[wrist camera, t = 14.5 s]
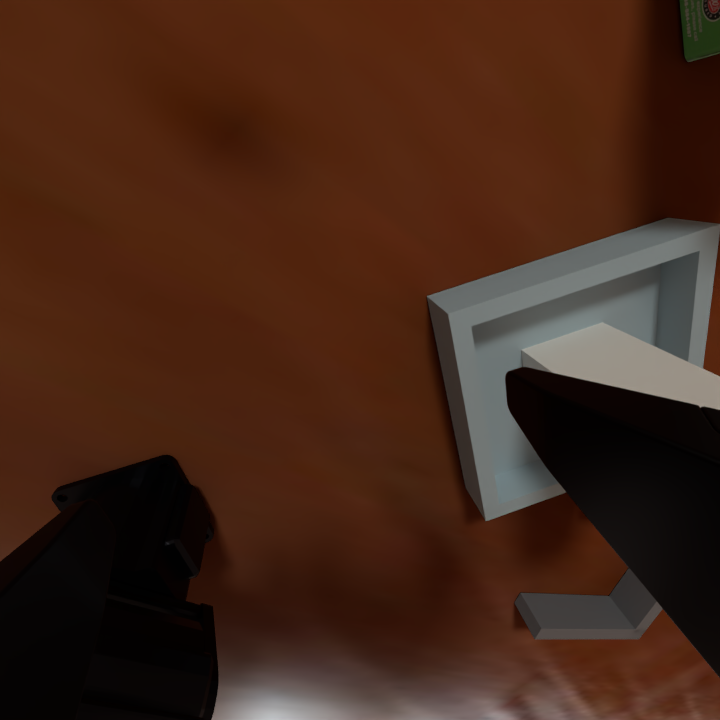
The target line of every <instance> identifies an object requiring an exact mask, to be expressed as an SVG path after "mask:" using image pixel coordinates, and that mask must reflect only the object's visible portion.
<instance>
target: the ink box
mask: <svg viewBox="0 0 720 720" xmlns="http://www.w3.org/2000/svg"><path fill="white" fill-rule="evenodd" d="M679 1H680V11H681V22H682V32H683V44H684V56H685V59H686V60H687V62H692V61H695V60H698V59H702V58H706V57H709V56H713V55H716V54H720V0H679Z"/></svg>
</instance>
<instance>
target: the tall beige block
mask: <svg viewBox="0 0 720 720" xmlns="http://www.w3.org/2000/svg"><path fill="white" fill-rule="evenodd" d="M521 352H522V362H523V367H529V368H533V369H538V370H542V371H547V372H551V373H556V374H560V375H565V376H569V377H574V378H578V379H583V380H587V381H592V382H596V383H601V384H605V385H610V386H614V387H619V388H623V389H628V390H632V391H637V392H641V393H646V394H650V395H655V396H659V397H664V398H668V399H673V400H678V401H682V402H687V403H691V404H696V405H698V406H699V407H700V408H701V407H703V406H705V407H710V408H714V409H718V410H720V377H719V376H717V375H715V374H713V373H711V372H709V371H707V370H704V369H702V368H700V367H698V366H696V365H694V364H691V363H689V362H687V361H685V360H683V359H681V358H678V357H676V356H674V355H672V354H670V353H668V352H666V351H663V350H661V349H659V348H657V347H655V346H653V345H650V344H648V343H646V342H644V341H642V340H640V339H637V338H635V337H633V336H631V335H629V334H627V333H625V332H622V331H620V330H618V329H616V328H614V327H612V326H609V325H607V324H605V323H603V322H602V323H599V324H596V325H593V326H590V327H587V328H584V329H581V330H578V331H575V332H572V333H569V334H566V335H563V336H560V337H558V338H555V339H552V340H549V341H546V342H543V343H540V344H537V345H534V346H531V347H528V348H525V349H522V350H521Z"/></svg>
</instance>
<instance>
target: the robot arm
mask: <svg viewBox="0 0 720 720" xmlns="http://www.w3.org/2000/svg"><path fill="white" fill-rule="evenodd" d="M505 384H506V396H507V405H508V409H509V411H510V413H511V415H512V416H513V418H514V419H515V421H516V422H517V424H518V426H519V427H520V429H521V430H522V432H523V433H524V435H525V436H526V438H527V439H528V441H529V442H530V444H531V445H532V447H533V449H534V450H535V452H536V453H537V455H538V456H539V458H540V459H541V461H542V462H543V464H544V465H545V466H546V468H547V469H548V470H549V472H550V473H551V474H552V475H553V477H554V478H555V479H556V480H557V482H558V483H559V484H560V485H561V486H562V488H563V489H564V490H565V491H566V492H567V494H568V495H569V496H570V497H571V498H572V500H573V501H574V502H575V503H576V504H577V506H578V507H579V508H580V509H581V511H582V512H583V513H584V514H585V515H586V517H587V518H588V519H589V520H590V521H591V523H592V524H593V525H594V526H595V527H596V529H597V530H598V531H599V532H600V534H601V535H602V536H603V537H604V538H605V540H606V541H607V542H608V543H609V544H610V546H611V547H612V548H613V549H614V550H615V552H616V553H617V554H618V555H619V557H620V558H621V559H622V560H623V561H624V563H625V564H626V565H627V566H628V567H629V569H630V570H631V571H632V572H633V573H634V575H635V576H636V577H637V578H638V579H639V581H640V582H641V583H642V584H643V586H644V587H645V588H646V589H647V590H648V592H649V593H650V594H651V595H652V596H653V598H654V599H655V600H656V601H657V602H658V604H659V605H660V606H661V607H662V609H663V610H664V611H665V612H666V613H667V615H668V616H669V617H670V618H671V619H672V621H673V622H674V623H675V624H676V625H677V627H678V628H679V629H680V630H681V631H682V633H683V634H684V635H685V636H686V638H687V639H688V640H689V641H690V642H691V644H692V645H693V646H694V647H695V648H696V650H697V651H698V652H699V653H700V654H701V656H702V657H703V658H704V659H705V661H706V662H707V663H708V664H709V665H710V667H711V668H712V669H713V670H714V671H715V673H716V674H717V675H718V676H719V677H720V410H718V409H714V408H710V407H705V406H703V407H701V408H700V407H699V406H698V405H696V404H691V403H687V402H682V401H678V400H673V399H668V398H664V397H659V396H655V395H650V394H646V393H641V392H637V391H632V390H628V389H623V388H619V387H614V386H610V385H605V384H601V383H596V382H592V381H587V380H583V379H578V378H574V377H569V376H565V375H560V374H556V373H551V372H547V371H542V370H538V369H533V368H529V367H520V368H517V369H514V370H510V371H508V372H507V373H506V375H505ZM162 463H167V464H168V465H169V466H164V465H162ZM62 494H63V495H66V496H67V497H64V496H62ZM52 501H53V502H54V503H55V505H56V506H57V507H58V509H59V510H60V511H61V513H59V514H58V515H57V516H56V517H55V518H53V519H52V520H51V521H50V522H48V523H47V524H46V525H45V526H44V527H42V528H41V529H40V530H39V531H37V532H36V533H35V534H34V535H32V536H31V537H30V538H29V539H28V540H26V541H25V542H24V543H23V544H21V545H20V546H19V547H18V548H16V549H15V550H14V551H13V552H12V553H10V554H9V555H8V556H7V557H5V558H4V559H3V560H2V561H1V562H0V720H211V719H212V715H213V712H214V707H215V702H216V697H217V690H218V662H217V651H216V639H215V627H214V615H213V606H210V605H207V604H203V603H201V604H200V605H198V604H195V603H191V602H187V601H186V597H187V592H188V587H189V582H190V579H191V578H194V577H197V575H198V573H199V572H200V568H201V562H202V557H203V551H204V546H205V543H206V542H209V541H211V540H212V538H213V534H214V529H213V527H212V525H211V523H210V521H209V518H210V515H209V513H208V511H207V509H206V507H205V506H204V504H203V502H202V500H201V498H200V496H199V495H198V493H197V491H196V489H195V487H194V486H193V485H191V484H189V483H188V482H187V480H186V478H185V476H184V474H183V472H182V471H181V469H180V467H179V465H178V463H177V462H176V460H175V459H174V457H172V456H170V455H162V456H159V457H155V458H152V459H149V460H145V461H142V462H139V463H136V464H132V465H129V466H126V467H122V468H119V469H116V470H112V471H109V472H106V473H103V474H99V475H96V476H93V477H89V478H86V479H83V480H80V481H76V482H73V483H70V484H66V485H63V486H60V487H58V488H57V489H56V490H55V492H54V493H53V495H52Z"/></svg>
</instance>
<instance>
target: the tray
mask: <svg viewBox="0 0 720 720" xmlns="http://www.w3.org/2000/svg"><path fill="white" fill-rule="evenodd" d="M719 234H720V224H716V223H708V222H700V221H692V220H683V219H675V218H665V219H662V220H659V221H656V222H653V223H650V224H647V225H644V226H641V227H638V228H635V229H632V230H628V231H625V232H622V233H619V234H616V235H613V236H610V237H607V238H604V239H601V240H598V241H595V242H592V243H589V244H586V245H582V246H579V247H576V248H573V249H570V250H567V251H564V252H561V253H558V254H555V255H552V256H549V257H546V258H543V259H540V260H536V261H533V262H530V263H527V264H524V265H521V266H518V267H515V268H512V269H509V270H506V271H503V272H500V273H497V274H494V275H490V276H487V277H484V278H481V279H478V280H475V281H472V282H469V283H466V284H463V285H460V286H457V287H454V288H451V289H448V290H444V291H441V292H438V293H435V294H432V295H429V296H427V300H428V305H429V310H430V315H431V320H432V325H433V329H434V334H435V339H436V344H437V349H438V354H439V359H440V364H441V369H442V374H443V379H444V384H445V389H446V394H447V398H448V403H449V408H450V413H451V418H452V423H453V428H454V433H455V438H456V443H457V448H458V453H459V458H460V462H461V467H462V472H463V477H464V482H465V487H466V489H467V491H468V493H469V494H470V496H471V498H472V499H473V501H474V503H475V504H476V506H477V507H478V509H479V511H480V512H481V514H482V516H483V517H484V519H485V521H488V520H491V519H494V518H497V517H499V516H502V515H505V514H508V513H510V512H513V511H516V510H519V509H522V508H524V507H527V506H530V505H533V504H535V503H538V502H541V501H544V500H547V499H549V498H552V497H555V496H558V495H560V494H563V493H566V491H565V490H564V489H563V488H562V486H561V485H560V484H559V483H558V482H557V480H556V479H555V478H554V477H553V475H552V474H551V473H550V472H549V470H548V469H547V468H546V466H545V465H544V464H543V462H542V461H541V459H540V458H539V456H538V455H537V453H536V452H535V450H534V449H533V447H532V445H531V444H530V442H529V441H528V439H527V438H526V436H525V435H524V433H523V432H522V430H521V429H520V427H519V426H518V424H517V422H516V421H515V419H514V418H513V416H512V415H511V413H510V411H509V409H508V405H507V396H506V384H505V375H506V373H507V372H508V371H510V370H514V369H517V368H520V367H523V362H522V352H521V350H522V349H525V348H528V347H531V346H534V345H537V344H540V343H543V342H546V341H549V340H552V339H555V338H558V337H560V336H563V335H566V334H569V333H572V332H575V331H578V330H581V329H584V328H587V327H590V326H593V325H596V324H599V323H602V322H603V323H605V324H607V325H609V326H612V327H614V328H616V329H618V330H620V331H622V332H625V333H627V334H629V335H631V336H633V337H635V338H637V339H640V340H642V341H644V342H646V343H648V344H650V345H653V346H655V347H657V348H659V349H661V350H663V351H666V352H668V353H670V354H672V355H674V356H676V357H678V358H681V359H683V360H685V361H687V362H689V363H691V364H694V365H696V366H698V367H700V368H702V369H703V362H704V354H705V346H706V338H707V330H708V322H709V314H710V306H711V298H712V290H713V282H714V274H715V266H716V258H717V250H718V242H719Z"/></svg>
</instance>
